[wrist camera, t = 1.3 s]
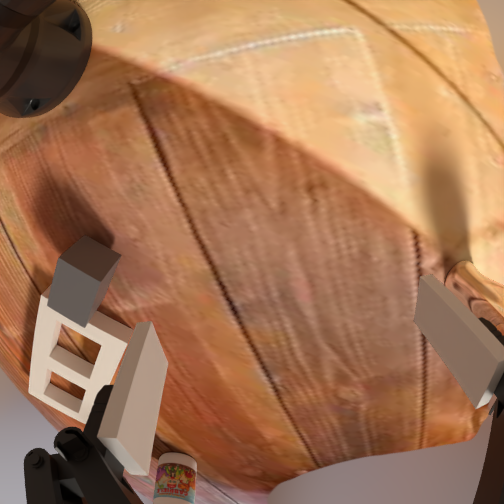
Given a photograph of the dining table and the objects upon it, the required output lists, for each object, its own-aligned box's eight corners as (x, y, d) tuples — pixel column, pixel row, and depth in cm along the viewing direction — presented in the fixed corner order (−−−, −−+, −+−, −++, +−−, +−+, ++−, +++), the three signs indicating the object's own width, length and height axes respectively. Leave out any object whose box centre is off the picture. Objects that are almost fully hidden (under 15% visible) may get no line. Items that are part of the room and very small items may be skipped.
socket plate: (34, 381, 43) (28, 392, 41) (51, 284, 36) (41, 294, 33) (96, 415, 46) (91, 427, 44) (133, 329, 39) (127, 343, 36)
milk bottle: (202, 467, 54) (199, 549, 35) (168, 468, 54) (159, 547, 36) (189, 450, 51) (182, 540, 32) (153, 451, 51) (140, 537, 33)
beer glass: (451, 307, 41) (506, 367, 27) (435, 281, 39) (497, 344, 25) (481, 276, 39) (541, 328, 25) (467, 247, 37) (536, 299, 23)
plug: (75, 273, 36) (46, 305, 28) (90, 230, 34) (58, 257, 26) (108, 291, 37) (85, 328, 29) (125, 250, 35) (100, 282, 27)
